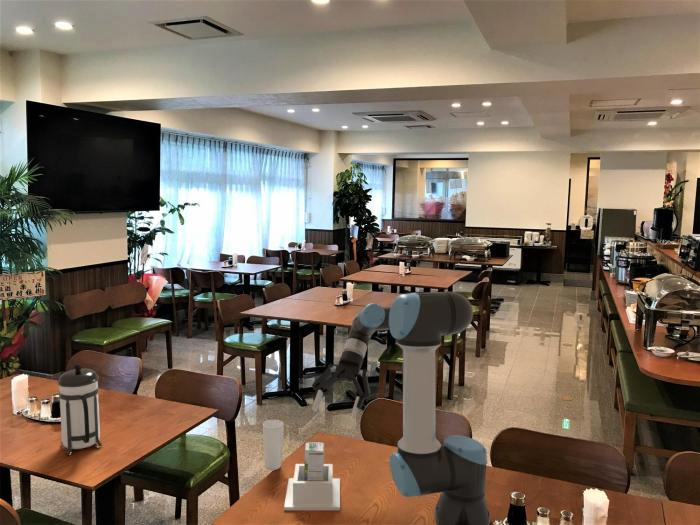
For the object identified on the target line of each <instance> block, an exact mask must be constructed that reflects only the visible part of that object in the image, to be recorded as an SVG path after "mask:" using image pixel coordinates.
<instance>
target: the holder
mask: <svg viewBox="0 0 700 525" xmlns="http://www.w3.org/2000/svg"><path fill="white" fill-rule="evenodd" d="M333 466H334V465H333V463H324V474H323V481H304V463H295V466H294V468H295V469H294V473H293V477H291V478H290V477H289V478H288V481H287V482H288V483H287V487H286V492H285V494H286V495H285V500H284V507H283V511H341V489H340V488H341V483H340V482H341V479H340V478H335V477H333V475H334V474H333V470H334V467H333Z"/></svg>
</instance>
